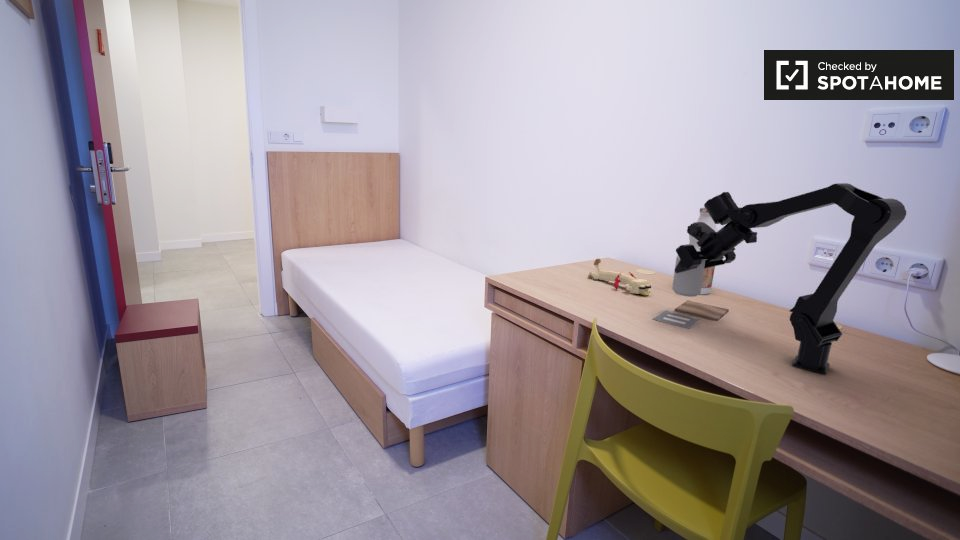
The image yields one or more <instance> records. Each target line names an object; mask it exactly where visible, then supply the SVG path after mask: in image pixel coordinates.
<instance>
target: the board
mask: <svg viewBox="0 0 960 540" xmlns="http://www.w3.org/2000/svg"><path fill="white" fill-rule="evenodd" d="M673 311H674V312H675V313H679V314H684V315H685V314H686V315H689V316H692V317H696V318H697V317H698V318H700V319H701V318H702V319H706V320H710V321H714V322H719V321H720V320H721V319H722V318H723V317H724V316H725V315H726V314H728V312H729V309H728V308H724V307H719V306H715V305H711V304H707V303H702V302H697V301H693V300H686V301H684V302H683V303H681V304H680V305H679V306H677V307H675V308H674V310H673Z"/></svg>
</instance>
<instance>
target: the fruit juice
mask: <svg viewBox="0 0 960 540" xmlns="http://www.w3.org/2000/svg"><path fill="white" fill-rule="evenodd" d="M696 222H703V223H705V224H707V225H708V226H710V227H711V228H712V229H713V230H715V232H718V231H719V230H718V228H717V224H715V223H714V221H713V219H712V218H711V216H710V215H709V213H708V212H707V210H706V209H705V207H700V208H699V218H698V219H697V221H696ZM688 240H689V243H688V244H690V245H694V247H695V249H696V250H697V251H700V248H701V247H700V246H698V244H697V242H698V240H697V239H695V238H694V237H692V236H691V235H689V234H688ZM715 268H716V266H714V267H709V268H704V273H703V280H702V286H701V293H700V294H699V295H700V296H701V295H708V294H710V293H711V291H712V287H713V281H714V280H713V279H714V273H715Z"/></svg>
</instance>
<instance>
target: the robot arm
mask: <svg viewBox="0 0 960 540" xmlns="http://www.w3.org/2000/svg"><path fill="white" fill-rule="evenodd" d="M832 205H837V206H838V207H839V208H841V209H842V210H843V211H844V212H846V213H847V214H849V215H851V216H853V219H852V221H851V225H850V235H849V238H848V240H847V241H846V243H845V244H844V246H843V247H842V249H841V251H840V252H839V254H838V255H837V257H836V258H835V260H834V262H833V263H832V265H831V266H830V268H829V269H828V270H827V272H826V274H825V275H824V277H823V278H822V280H821V282H820V283H819V285H818V286H817V288H816V289H815V291H814V292H813V293H811V294H806V295H801V296H798V298H797V299H796V302H795V304H794V306H793V307H792V308H791V309H789V312H790V316H789V321H790V324H791V327H792V328H793V333H794V339H795V340H796V341H798V342H799V346H798V351H797V354H796V356H795V357H794V359H793V362H792V364H791V365H792V366H793V367H796V368H800V369H804V370H808V371H811V372H816V373H820V374H824V375H827V374H828V370H829V368H830V362H828V360H829V358H830V353H831V350H832V349H831V348H832V343H833V342H838V341H839V340H840V338H841V337H842V336H843V333H842V331H841V330H840V328H839V327H838V326H837V324H836V323H835V321H834V320H835V317H836V314H837V312H838V303H839V299H840V298H841V296H843V293H844V292H845V291H846V289H847V288H848V287H849V285H850V284H851V282H852V280H854V277H855V276H856V275H857V273H858V272H859V270H860V269H861V267H862V265H863V264H864V262H865V261H866V260H867V259H868V257H869V255H870V254H871V252H872V251H873V250H874V249H875V248H874V247H875V246H876V245H877V244H878V243H880V241H882V240H884V239H885V238H886V237H888V236H889V235H890V234H891V233H892V232H893V231H894V230H895V229H897V228H898V226H899V225H900V224H901V223H902V222H903V221H904V220H905V218H906V216H907V210H906V208H905V205H904V204H903V202H901V201H900V200H898V199H894V198H883V197H881V196H880V195H877V194H874V193H871V192H868V191H866V190H863V189H860V188H859V187H857V186H854V185H852V184H851V183H846V182H844V183H838V182H837V183H833V184H830V185H829V186H827V187H824V188H820V189H816V190H813V191H810V192H806V193H802V194H798V195H795V196H792V197H788V198H785V199H781V200H778V201H777V200H776V201H769V202H761V203H760V202H759V203H751V204H746V205H744V206H743V207H739V206H738V204H737V203H736V202H735V201H734V199H733V197H732V195H731V193H730V192H729V191H724V192H722V193H720V194H717V195H716V196H713V197H712V198H709V199H708V200H706V202H705V203H704V205H703V208H705V209H706V210H707V212H708V213H709V215H710V216H711V218H712V219H713V221H714V223H715V225H719V224H720V225H721V226H723V227H721V228H720V229H719V230H718V232H715V230H713V229H712V228H711V227H710V226H708V225H707V224H705V223H703V222H697V221H695V222H693V223H691V224H689V225H688V226H687V229H686V233H687V234H688V236H689V235H691V236H692V237H694V238H695V239H697V240H698V242H697V244H698V246H700V247H701V248H700V251H697V250H696V249H695V247H694V245H690V244H689V243H688V244H680V245H679V246H678V247H677V248H676V249H675V252H676V254H677V256H679V257H680V261H679V263H678V265H677V266H676V268H675V267H674V272H676V273H680V272H684V271H688V270H692V269H695V268H697V266H699V265H700V264H701V262H702V260H705V266H704V268H709V267H714V266H715V267H718V266H723V265H725V264H730V263H732V262H734V261H735V260H736V258H737V257H736V256H737V254H736V253H735V251H736V248H735V247H738V245H740V244H741V243H742V242H745V243H746V244H754V243H755V244H756V243H757V241H758V232H757V231H753V230H752V229H755V228H767V227H770V226H772V225H774V224H776V223H778V222H781V221H782V220H784V219H785V218H788V217H791V216H794V215H797V214H801V213H806V212H810V211H813V210H817V209H820V208H824V207H828V206H832Z"/></svg>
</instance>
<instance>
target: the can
mask: <svg viewBox="0 0 960 540" xmlns="http://www.w3.org/2000/svg"><path fill="white" fill-rule="evenodd" d="M679 261H680V257H679V256H678V255H676V257H675V266H674V269H675V268H676V266H677V265H678V263H679ZM704 266H705V260H702V262H701V264H700V265H699V266H697V268H695V269H692V270H688V271H684V272H680V273H676V272H675V271H674V272H673V273H674V274H673V278H672V279H673V280H672V288H671V289H672V291H673V292H674V293H675V294H676V295H678V296H681V297H682V296H683V297H690V298H693V297H697V296H698V295H701V294H700V293H701V286H702V280H703V273H704Z"/></svg>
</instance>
